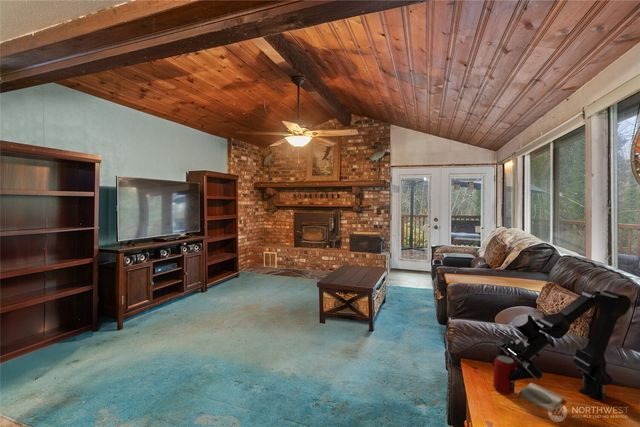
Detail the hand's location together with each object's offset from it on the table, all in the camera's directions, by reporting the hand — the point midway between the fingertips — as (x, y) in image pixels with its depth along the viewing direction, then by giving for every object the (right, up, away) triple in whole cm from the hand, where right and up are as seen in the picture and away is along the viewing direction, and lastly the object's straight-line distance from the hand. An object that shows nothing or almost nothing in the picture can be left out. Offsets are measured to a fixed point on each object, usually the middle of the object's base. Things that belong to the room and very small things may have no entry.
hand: (500, 372), depth 109 cm
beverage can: (+1, -7, 0) cm, 7 cm away
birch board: (+12, -7, -3) cm, 15 cm away
